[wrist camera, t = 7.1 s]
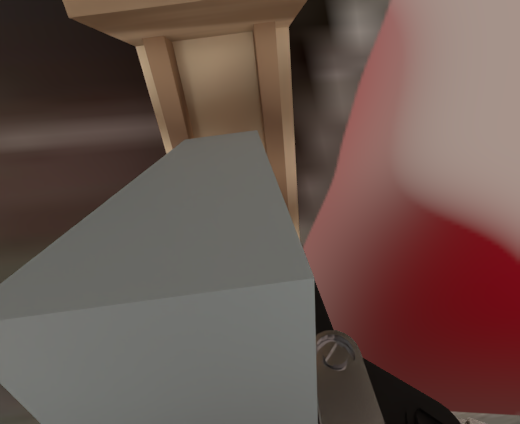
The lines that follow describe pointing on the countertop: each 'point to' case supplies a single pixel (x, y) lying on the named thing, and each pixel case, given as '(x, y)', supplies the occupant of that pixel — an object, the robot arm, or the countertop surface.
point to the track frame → (212, 69)
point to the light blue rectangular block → (170, 302)
